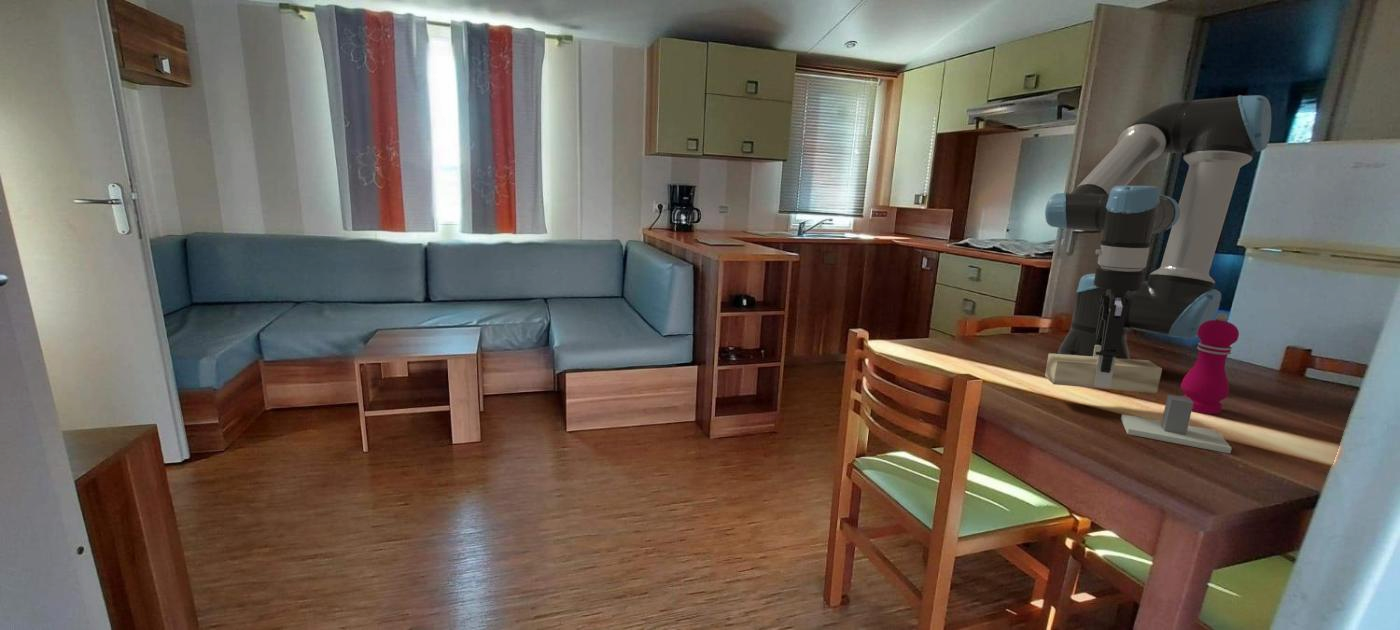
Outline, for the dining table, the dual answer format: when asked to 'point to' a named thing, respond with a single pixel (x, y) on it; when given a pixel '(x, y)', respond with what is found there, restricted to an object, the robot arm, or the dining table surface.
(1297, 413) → the dining table surface
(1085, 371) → the beech bar
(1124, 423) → the stand
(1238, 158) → the robot arm
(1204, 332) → the pepper mill
